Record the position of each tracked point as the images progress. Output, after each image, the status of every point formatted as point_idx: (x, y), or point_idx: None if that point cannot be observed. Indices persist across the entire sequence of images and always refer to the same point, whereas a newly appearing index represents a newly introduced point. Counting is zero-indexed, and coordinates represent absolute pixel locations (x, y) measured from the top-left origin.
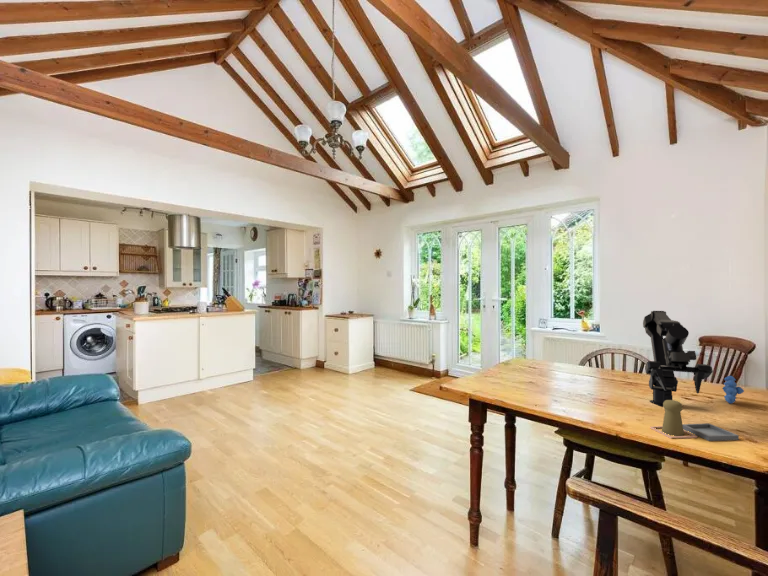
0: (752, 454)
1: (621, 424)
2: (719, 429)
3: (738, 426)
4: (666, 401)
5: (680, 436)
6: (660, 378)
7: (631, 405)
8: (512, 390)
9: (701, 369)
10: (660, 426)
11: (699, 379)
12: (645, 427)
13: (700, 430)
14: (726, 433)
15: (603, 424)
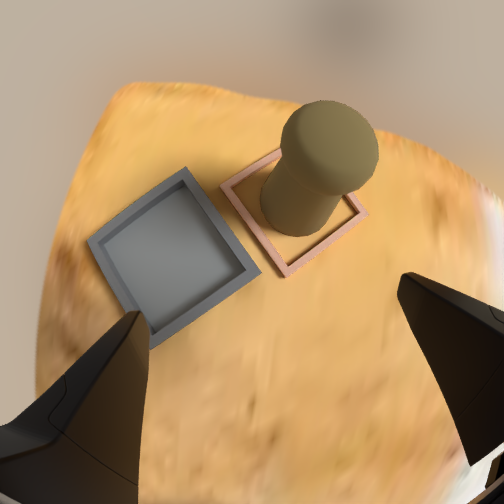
0: (107, 132)
1: (435, 210)
2: (127, 294)
3: None
4: (368, 126)
5: (276, 154)
6: (502, 311)
7: (392, 460)
8: None
9: None
10: (336, 236)
11: (51, 412)
12: (378, 216)
13: (193, 276)
14: (114, 269)
15: (463, 187)
